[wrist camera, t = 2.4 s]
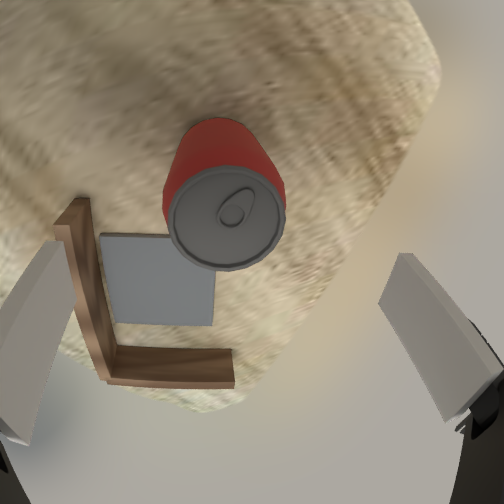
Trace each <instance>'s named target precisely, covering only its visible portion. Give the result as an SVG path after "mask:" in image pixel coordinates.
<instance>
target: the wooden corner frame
mask: <svg viewBox="0 0 504 504" xmlns="http://www.w3.org/2000/svg"><path fill="white" fill-rule="evenodd" d="M53 228H54V233H55V238H56V241H63V243H64V248H65V252H66V257H67V261H68V266H69V270H70V274H71V278H72V282H73V286H74V290H75V294H76V297H77V301H76V304H75V306H74V311H75V314H76V317H77V320H78V323H79V326H80V329H81V332H82V334H83V337H84V340H85V343H86V345H87V348H88V351H89V353H90V356H91V359H92V361H93V364H94V366H95V369H96V371H97V373H98V376H99V378H100V380H104V381H107V384H111V385H121V386H133V387H148V388H169V389H234V385H235V378H234V370H233V362H232V354H231V349H178V348H152V347H133V346H119V345H117V343H116V339H115V336H114V332H113V328H112V324H111V320H110V316H109V312H108V307H107V303H106V299H105V294H104V289H103V284H102V279H101V274H100V269H99V263H98V258H97V252H96V245H95V239H94V232H93V225H92V217H91V209H90V199H74V200H73V201H72V203H71V204H70V205H69V206H68V207H67V208H66V210H65V211H64V212H63V213H62V214H61V216H60V217H59V218H58V219H57V221H56V222H55V223H54V224H53Z"/></svg>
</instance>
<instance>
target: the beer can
mask: <svg viewBox="0 0 504 504" xmlns="http://www.w3.org/2000/svg"><path fill="white" fill-rule="evenodd" d="M162 210H163V214H164V217H165V220H166V224H167V228H168V231H169V234H170V237H171V240H172V243H173V244H174V246H175V247H176V248H177V249H178V251H179V252H180V253H181V255H182V256H183V257H185V258H186V259H188V260H189V261H190V262H192V263H193V264H195V265H196V266H199V267H202V268H205V269H208V270H212V271H226V272H230V271H235V270H240V269H245V268H247V267H249V266H251V265H253V264H255V263H258V262H260V261H261V260H263V259H264V258H265V257H266V256H267V255H268V254H269V253H270V252H271V251H273V250H274V248H275V246H276V245H277V243H278V242H279V240H280V238H281V237H282V234H283V230H284V226H285V221H286V216H285V210H286V198H285V189H284V183H283V181H282V179H281V177H280V175H279V173H278V171H277V169H276V167H275V165H274V164H273V163H272V161H271V160H270V158H269V157H268V155H267V154H266V153H265V151H264V150H263V148H262V147H261V145H260V144H259V143H258V141H257V140H256V138H255V137H254V136H253V134H252V133H251V132H250V131H249V130H248V129H247V128H246V127H245V126H243V125H242V124H240V123H238V122H236V121H233V120H231V119H224V118H213V119H208V120H204V121H202V122H200V123H198V124H197V125H195V126H193V127H192V128H191V129H190V130H189V131H188V132H187V133H186V134H185V135H184V136H183V138H182V140H181V143H180V145H179V147H178V150H177V152H176V155H175V158H174V161H173V163H172V166H171V169H170V172H169V175H168V178H167V180H166V183H165V186H164V189H163V204H162Z"/></svg>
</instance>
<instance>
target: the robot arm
mask: <svg viewBox="0 0 504 504" xmlns="http://www.w3.org/2000/svg"><path fill="white" fill-rule="evenodd" d="M76 301H77V297H76V294H75V290H74V286H73V282H72V278H71V274H70V270H69V266H68V261H67V257H66V252H65V248H64V243H63V241H46V242H45V243H44V244H43V246H42V247H41V248H40V250H39V251H38V252H37V254H36V255H35V257H34V258H33V259H32V261H31V262H30V264H29V265H28V267H27V268H26V269H25V271H24V272H23V274H22V275H21V277H20V278H19V280H18V281H17V283H16V285H15V286H14V288H13V289H12V291H11V292H10V294H9V296H8V297H7V299H6V300H5V302H4V304H3V305H2V307H1V309H0V431H1V432H2V433H3V434H4V435H5V436H6V437H7V438H8V439H9V440H11V441H14V442H17V443H20V444H23V445H26V446H30V441H31V436H32V433H33V428H34V424H35V421H36V417H37V413H38V409H39V405H40V402H41V399H42V395H43V391H44V388H45V385H46V382H47V379H48V376H49V373H50V370H51V367H52V364H53V361H54V358H55V355H56V352H57V349H58V347H59V344H60V341H61V338H62V336H63V333H64V331H65V328H66V325H67V323H68V320H69V318H70V316H71V313H72V311H73V308H74V306H75V304H76ZM378 304H379V306H380V307H381V309H382V311H383V312H384V314H385V315H386V317H387V319H388V320H389V322H390V324H391V325H392V327H393V329H394V330H395V332H396V334H397V335H398V337H399V339H400V341H401V342H402V344H403V346H404V347H405V349H406V351H407V353H408V354H409V356H410V358H411V360H412V361H413V363H414V365H415V367H416V369H417V370H418V372H419V374H420V376H421V378H422V380H423V381H424V383H425V385H426V387H427V389H428V391H429V393H430V395H431V396H432V398H433V400H434V402H435V404H436V406H437V408H438V410H439V412H440V414H441V416H442V418H443V420H444V422H445V423H447V422H450V421H452V420H455V419H457V418H459V417H460V416H461V415H462V414H463V413H464V412H465V411H466V410H467V409H468V408H469V409H470V411H471V413H470V414H469V415H468V416H467V417H466V418H465V419H464V420H463V421H462V422H461V423H460V424H459V425H458V426H456V429H455V431H456V432H457V431H458V430H459V429H461V427H463V426H464V425H466V426H465V427H464V428H463V429H462V430H461V432H460V433H462V434H464V439H463V446H462V451H461V457H460V462H459V467H458V472H457V476H456V480H455V484H454V488H453V492H452V496H451V499H450V503H449V504H504V365H503V363H502V362H501V360H500V359H499V357H498V356H497V354H496V353H495V352H494V350H493V349H492V348H491V346H490V345H489V343H487V341H486V339H485V338H484V337H483V336H481V332H480V331H479V330H478V329H477V327H476V326H475V324H473V323H472V322H471V321H470V320H469V319H468V318H467V317H466V316H465V315H464V313H463V312H462V311H461V310H460V308H459V307H458V306H457V305H456V303H455V302H454V301H453V300H452V299H451V297H450V296H449V295H448V294H447V292H446V291H445V290H444V289H443V288H442V286H441V285H440V284H439V283H438V282H437V280H435V278H434V277H433V276H432V275H431V274H430V272H429V271H428V270H427V269H426V268H425V267H424V266H423V265H422V263H421V262H420V261H419V260H418V259H417V258H416V257H415V256H414V254H411V253H399V255H398V257H397V260H396V262H395V265H394V267H393V270H392V272H391V275H390V277H389V279H388V282H387V284H386V287H385V289H384V291H383V293H382V296H381V298H380V300H379V303H378ZM0 504H31V503H30V501H29V499H28V497H27V496H26V493H25V492H24V490H23V488H22V486H21V484H20V482H19V480H18V478H17V476H16V474H15V472H14V470H13V467H12V465H11V463H10V461H9V458H8V456H7V454H6V451H5V449H4V446H3V444H2V443H1V441H0Z"/></svg>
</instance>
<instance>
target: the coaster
mask: <svg viewBox="0 0 504 504" xmlns="http://www.w3.org/2000/svg"><path fill="white" fill-rule="evenodd" d="M99 239H100V246H101V253H102V259H103V265H104V271H105V276H106V281H107V287H108V292H109V297H110V301H111V306H112V311H113V315H114V319H115V323H131V324H151V325H179V326H212V319H213V301H214V284H215V271H212V270H208V269H205V268H202V267H199V266H196V265H195V264H193V263H192V262H190V261H189V260H188V259H186V258H185V257H183V256H182V255H181V253H180V252H179V251H178V249H177V248H176V247H175V246H174V244H173V243H172V240H171V237H170V235H154V234H113V233H101V234H100V236H99Z"/></svg>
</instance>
